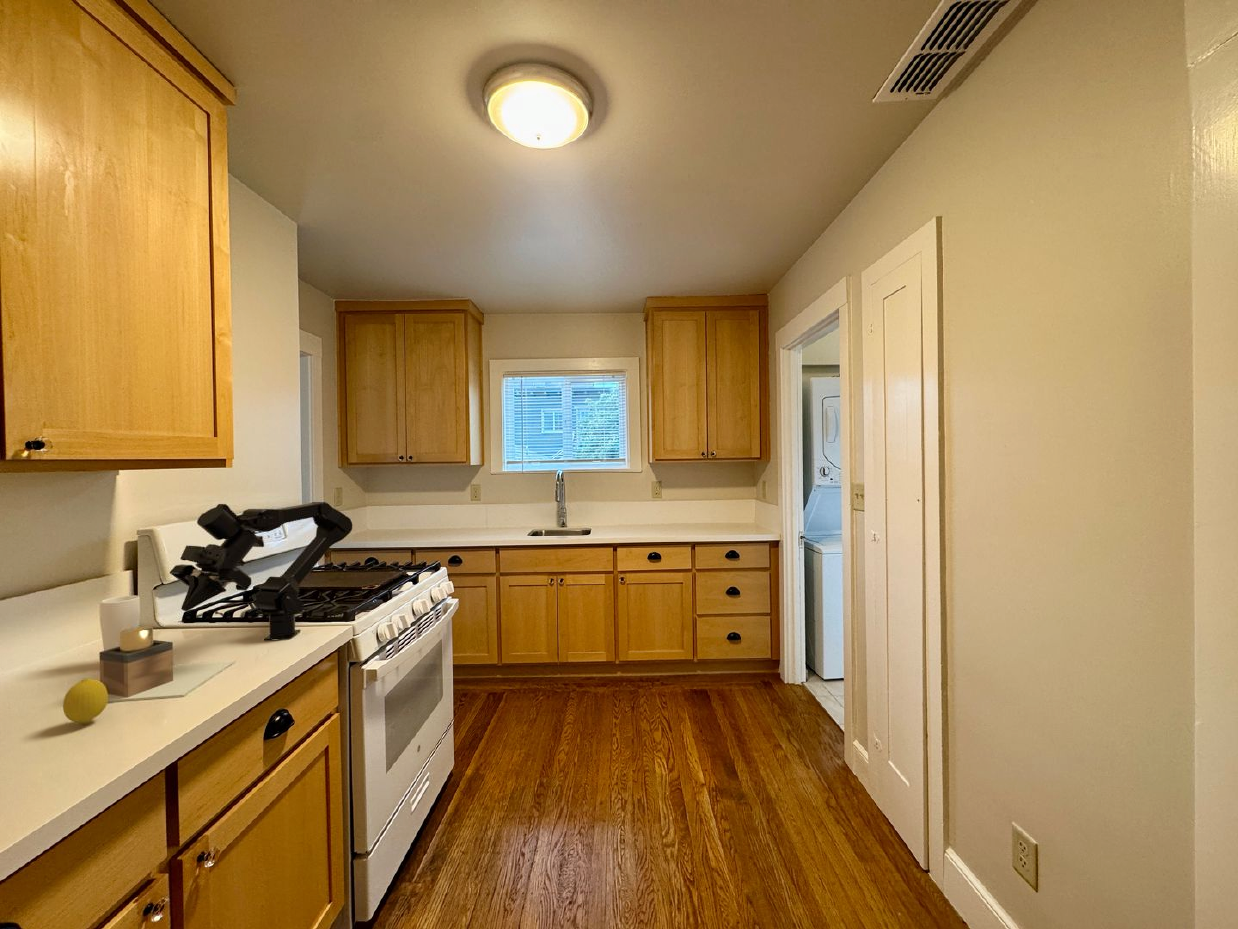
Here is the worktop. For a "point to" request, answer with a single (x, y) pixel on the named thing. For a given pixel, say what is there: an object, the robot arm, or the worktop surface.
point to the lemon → (85, 701)
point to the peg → (136, 639)
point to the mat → (180, 681)
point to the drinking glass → (118, 618)
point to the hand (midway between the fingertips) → (183, 610)
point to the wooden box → (136, 669)
